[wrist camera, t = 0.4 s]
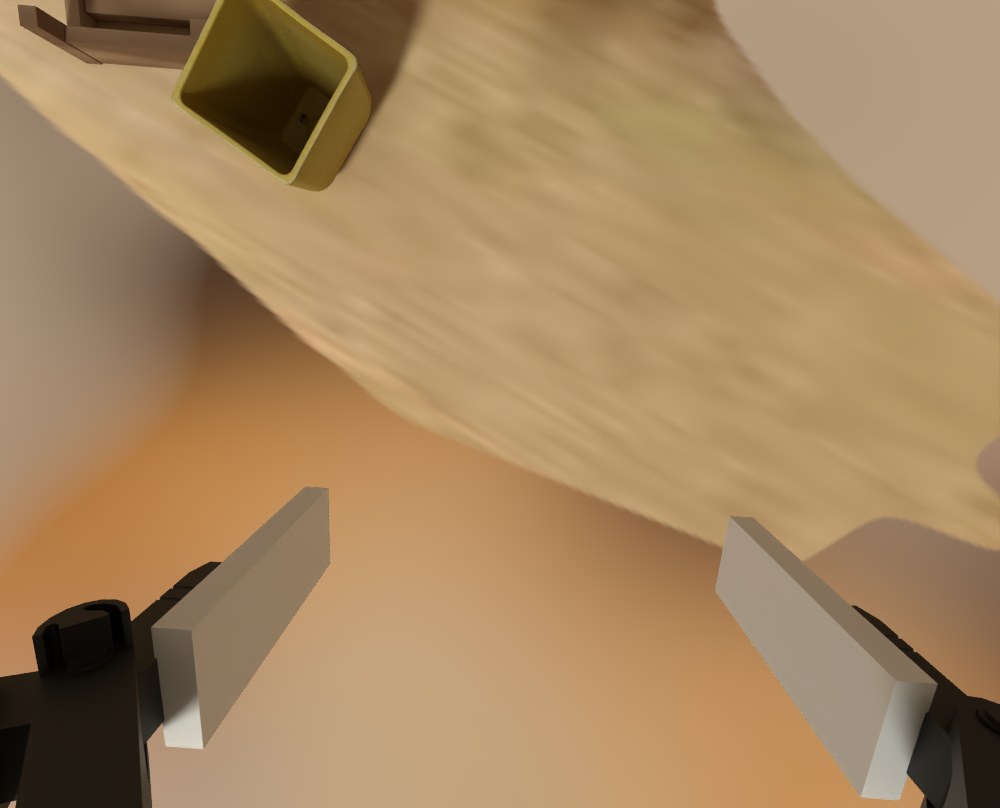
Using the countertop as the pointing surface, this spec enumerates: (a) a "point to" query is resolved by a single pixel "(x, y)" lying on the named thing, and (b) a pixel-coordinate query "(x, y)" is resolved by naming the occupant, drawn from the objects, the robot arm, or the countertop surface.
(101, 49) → the rack
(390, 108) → the countertop surface
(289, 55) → the flower pot
